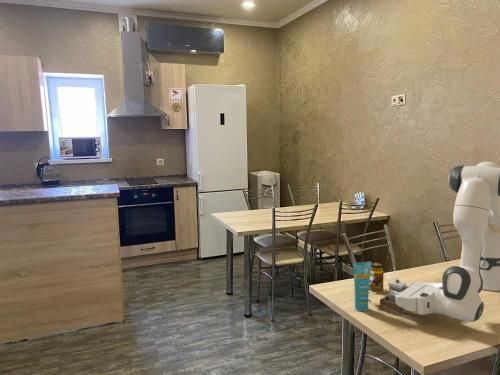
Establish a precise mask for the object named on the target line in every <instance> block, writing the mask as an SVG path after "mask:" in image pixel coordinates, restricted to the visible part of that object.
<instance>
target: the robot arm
mask: <svg viewBox="0 0 500 375" xmlns="http://www.w3.org/2000/svg"><path fill="white" fill-rule="evenodd" d="M448 186H449V188H450V189H451V190H452V191H454V192H455V193H456V194H457V195H456V197H455V201H454V206H453V207H454V208H453V214H452V218H453V226H454V227H455V229H456V231H457V232H458V234H459V237H460V239H461V245H462V246H461V247H462V248H461V255H460V263H459V266H457V265H454V266H450V267H447V268H446V269H445V270H444V272H443V273H442V280H441V281H442V282H441V283H442V286H443V289H439V288H435V287H434V286H432V285H429V284H426V283H427V282H426V283H422V281H415V282H416V283H415V284H413V285H412V286H410V285H408V284H406V286H405V290H404V291H402V292H399V293H398V292H396V290H393V289H392V290H390V295H393V296H395V297H396V305H397V306H399V307H402V308H405V309H404V310H408V311H412V312H416V313H417V314H419V315H427V314H438V315H445V316H447V317H449V318H452V319H455V320H457V321H463V322H467V323H474V322H477V321H479V319H480V318H481V317H482V316H483V313H484V307H485V304H484V301H482V298H481V297H480V295H479V294H480V293H481V291H482V290H484V291H491V292H492V291H493V292H500V234H499V233H496V232H495V231H493V230H491V228H490V227H489V225H493V226H500V166H499V165H498V164H497V163H495V162H493V161H482V162H479V163H478V164H476V165H457V166H454V167H453V168H452V169H451V171H450V173H449V175H448Z"/></svg>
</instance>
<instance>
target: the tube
mask: <svg viewBox="0 0 500 375" xmlns="http://www.w3.org/2000/svg"><path fill="white" fill-rule="evenodd" d="M371 263H372V261H371V260H370V261H365V262H353V263H352V267H353V269H352V270H353V282H354V285H353V286H354V309H355V310H356V311H359V312H366V311H368V309H369V308H368V307H369V303H368V299H369V292H370V291H369V281H370V270H371Z"/></svg>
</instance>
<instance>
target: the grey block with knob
mask: <svg viewBox="0 0 500 375" xmlns="http://www.w3.org/2000/svg"><path fill="white" fill-rule="evenodd" d="M406 285H407V282H406V281H404V280H403V281H402V280H400V279H398V278H397V279H393V280H390V281H389V282H388V286H389V287H388V294H389V301H391V302H394V303H396V297H395V296H393V295H390V290H392V289H393V290H396V292H398V293H399V292H402V291H404V290H405V286H406ZM404 310H406V309H405V308H402V312H403V311H404Z"/></svg>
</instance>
